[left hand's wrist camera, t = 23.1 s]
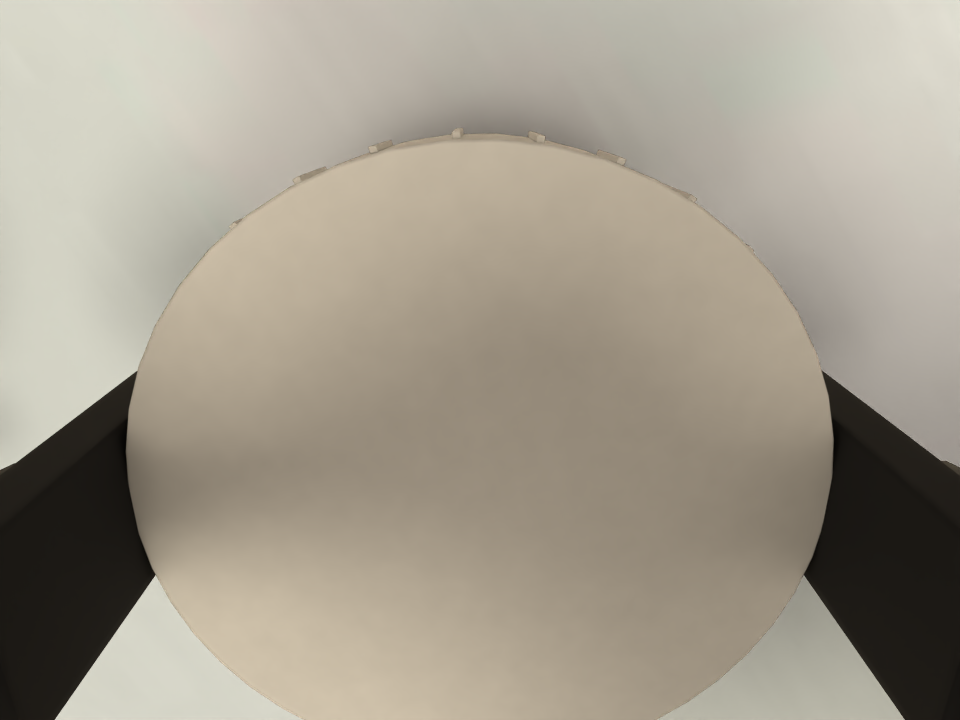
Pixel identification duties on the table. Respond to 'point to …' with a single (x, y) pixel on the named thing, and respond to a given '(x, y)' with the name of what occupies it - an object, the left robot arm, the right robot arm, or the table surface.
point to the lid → (479, 440)
